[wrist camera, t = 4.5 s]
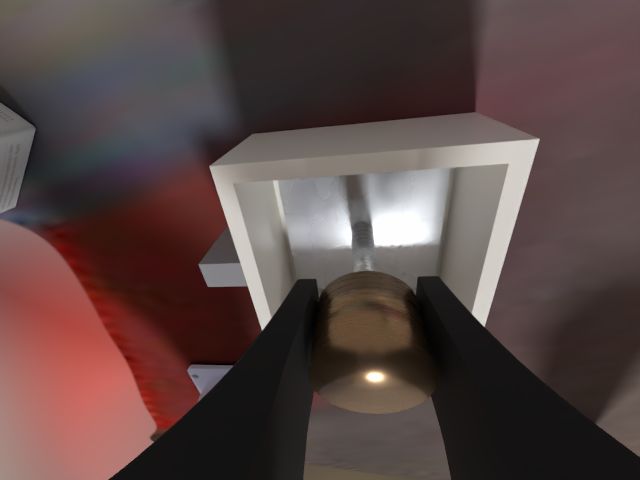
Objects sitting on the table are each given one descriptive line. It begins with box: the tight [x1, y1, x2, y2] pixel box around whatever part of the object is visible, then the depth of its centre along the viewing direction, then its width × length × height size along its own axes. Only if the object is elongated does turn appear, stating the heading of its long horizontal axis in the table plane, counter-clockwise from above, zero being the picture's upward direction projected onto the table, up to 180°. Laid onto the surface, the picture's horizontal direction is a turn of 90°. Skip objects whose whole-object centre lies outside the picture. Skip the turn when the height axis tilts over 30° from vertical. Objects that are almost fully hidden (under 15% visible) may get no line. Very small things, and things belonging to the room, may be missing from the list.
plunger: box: [277, 168, 450, 414], centre depth 10 cm, size 7×7×8 cm
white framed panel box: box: [198, 112, 539, 330], centre depth 12 cm, size 9×11×4 cm
